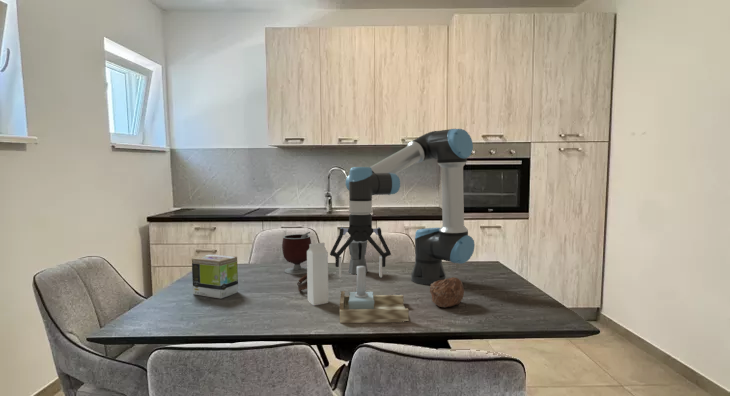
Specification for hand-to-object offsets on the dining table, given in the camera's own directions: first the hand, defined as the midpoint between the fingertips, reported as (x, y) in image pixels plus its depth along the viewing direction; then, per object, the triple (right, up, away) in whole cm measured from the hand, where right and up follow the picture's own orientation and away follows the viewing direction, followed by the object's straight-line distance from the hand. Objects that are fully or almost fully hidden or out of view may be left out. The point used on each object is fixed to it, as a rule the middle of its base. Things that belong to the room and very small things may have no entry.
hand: (360, 276), depth 131 cm
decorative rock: (+31, -12, +10) cm, 35 cm away
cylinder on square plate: (0, -12, +1) cm, 12 cm away
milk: (-16, -12, +14) cm, 24 cm away
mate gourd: (-31, -10, +58) cm, 67 cm away
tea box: (-58, -12, +25) cm, 64 cm away
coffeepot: (-2, -10, +55) cm, 56 cm away
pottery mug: (-20, -12, +27) cm, 36 cm away
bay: (+4, -13, +3) cm, 14 cm away
